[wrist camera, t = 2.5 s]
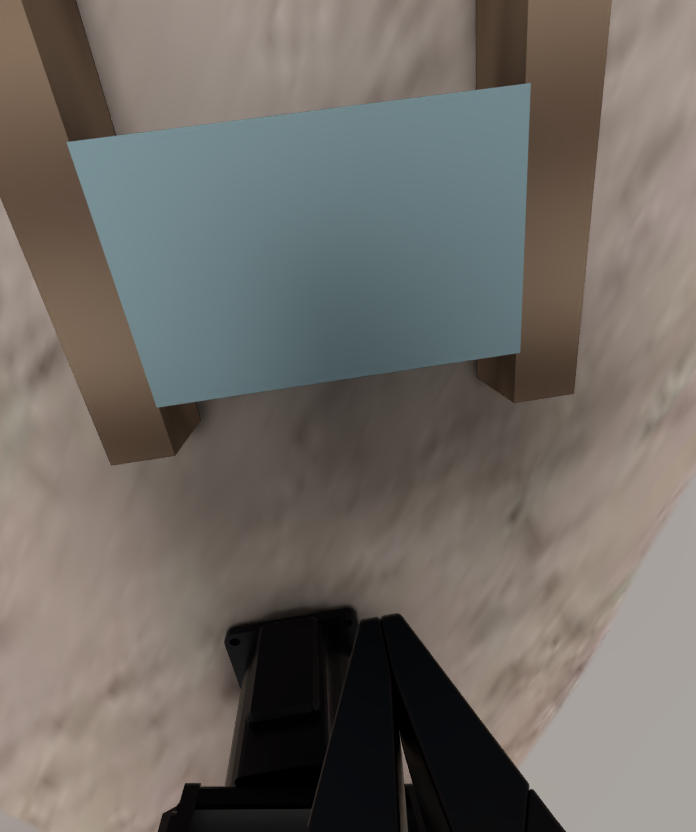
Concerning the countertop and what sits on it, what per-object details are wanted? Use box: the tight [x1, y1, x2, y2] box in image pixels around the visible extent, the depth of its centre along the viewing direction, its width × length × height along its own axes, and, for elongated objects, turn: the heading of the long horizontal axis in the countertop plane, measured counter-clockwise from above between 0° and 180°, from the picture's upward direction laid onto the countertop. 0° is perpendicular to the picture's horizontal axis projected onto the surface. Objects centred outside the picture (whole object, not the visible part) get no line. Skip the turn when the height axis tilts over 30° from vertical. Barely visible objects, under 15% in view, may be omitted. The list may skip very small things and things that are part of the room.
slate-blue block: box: [67, 83, 531, 408], centre depth 11 cm, size 6×10×4 cm, turn 97°
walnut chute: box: [0, 0, 612, 466], centre depth 11 cm, size 14×15×3 cm
